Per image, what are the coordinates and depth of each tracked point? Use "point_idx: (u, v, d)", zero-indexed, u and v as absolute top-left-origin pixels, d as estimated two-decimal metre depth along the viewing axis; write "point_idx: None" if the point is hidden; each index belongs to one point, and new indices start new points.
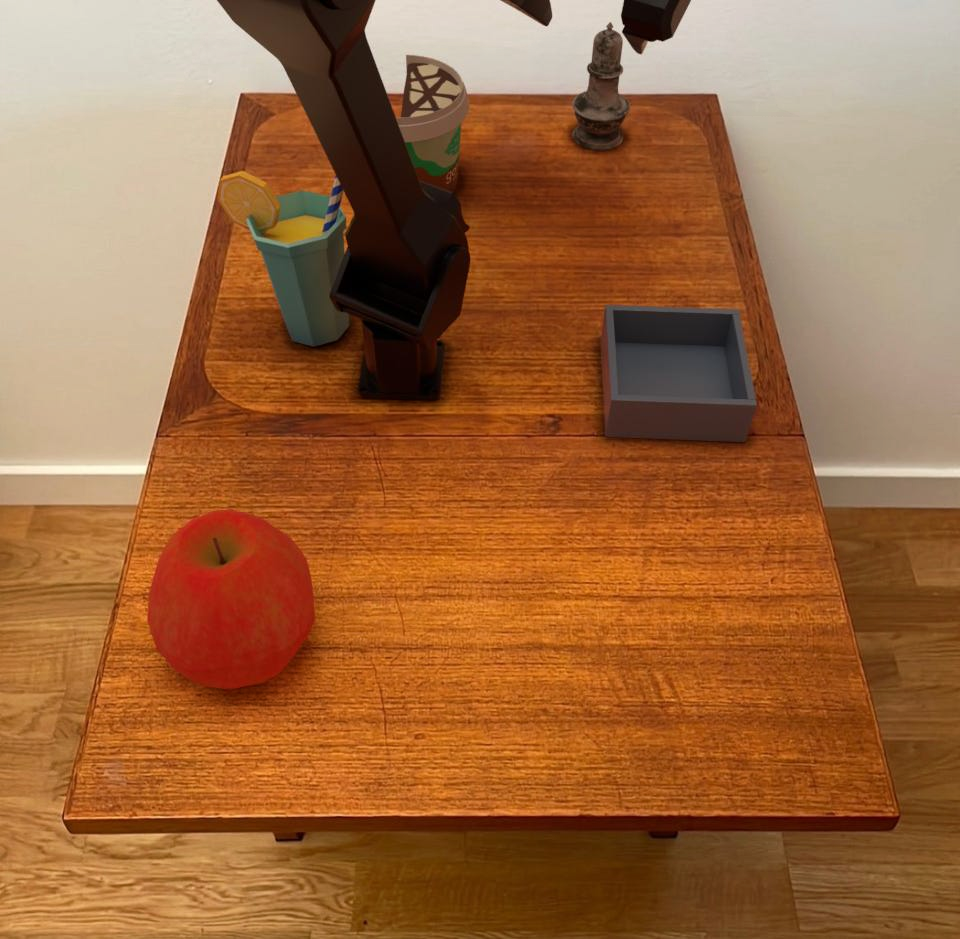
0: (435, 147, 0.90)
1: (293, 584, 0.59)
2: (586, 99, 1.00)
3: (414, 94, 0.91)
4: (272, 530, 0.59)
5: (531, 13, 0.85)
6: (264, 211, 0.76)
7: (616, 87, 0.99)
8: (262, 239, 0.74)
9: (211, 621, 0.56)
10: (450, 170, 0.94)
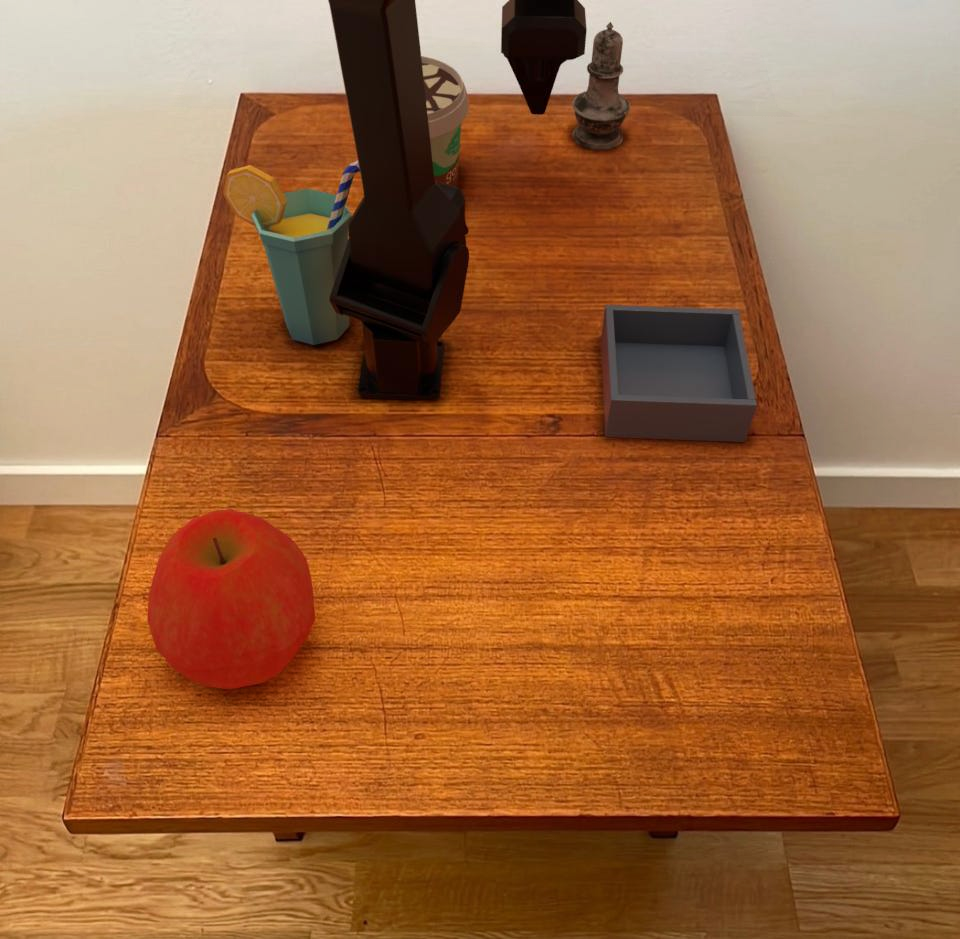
0: (435, 147, 0.90)
1: (293, 584, 0.59)
2: (586, 99, 1.00)
3: None
4: (272, 530, 0.59)
5: None
6: (269, 206, 0.76)
7: (616, 87, 0.99)
8: (267, 233, 0.74)
9: (211, 622, 0.56)
10: (450, 170, 0.94)
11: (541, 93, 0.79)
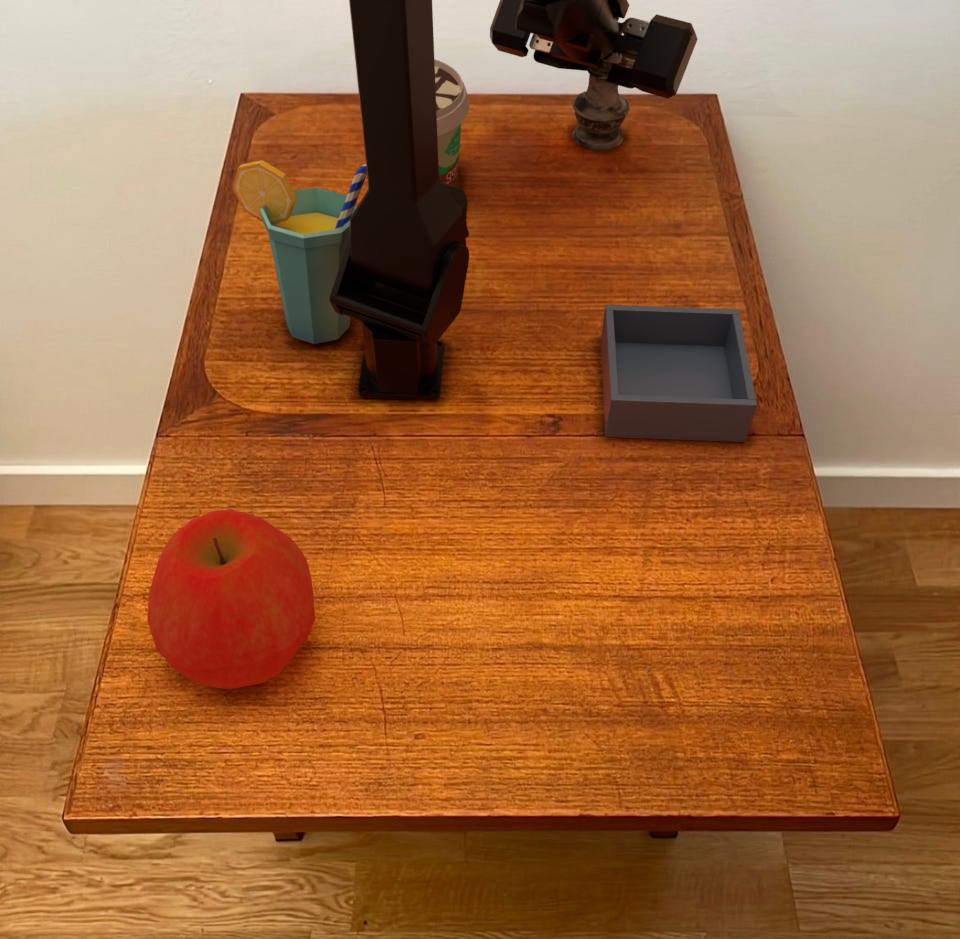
0: None
1: (293, 584, 0.59)
2: (586, 99, 1.00)
3: None
4: (272, 530, 0.59)
5: (578, 69, 0.97)
6: (279, 202, 0.76)
7: (616, 87, 0.99)
8: (277, 228, 0.74)
9: (211, 622, 0.56)
10: (450, 170, 0.94)
11: None
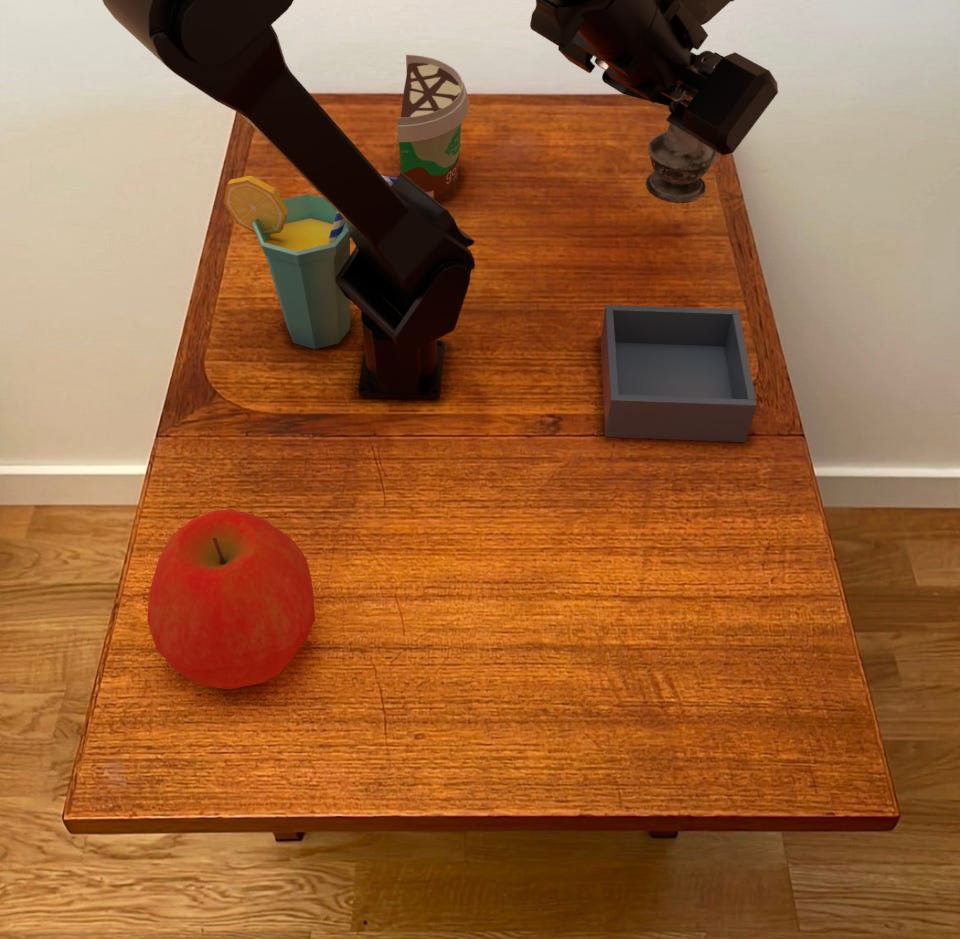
0: (435, 147, 0.90)
1: (293, 584, 0.59)
2: (664, 139, 0.84)
3: (414, 94, 0.91)
4: (272, 530, 0.59)
5: (656, 101, 0.82)
6: (271, 216, 0.75)
7: None
8: (270, 245, 0.74)
9: (211, 622, 0.56)
10: (450, 170, 0.94)
11: None
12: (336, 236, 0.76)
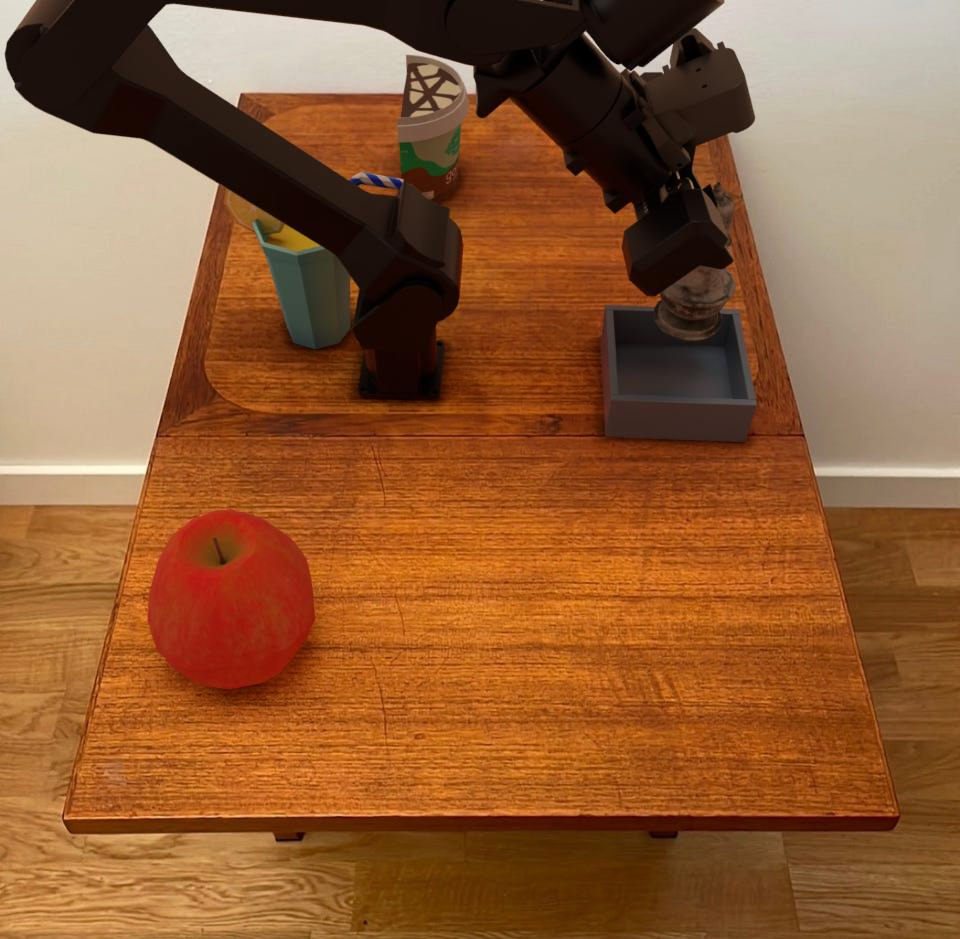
0: (435, 147, 0.90)
1: (293, 584, 0.59)
2: None
3: (414, 94, 0.91)
4: (272, 530, 0.59)
5: None
6: (271, 216, 0.75)
7: (704, 268, 0.71)
8: (270, 245, 0.74)
9: (211, 621, 0.56)
10: (450, 170, 0.94)
11: None
12: None
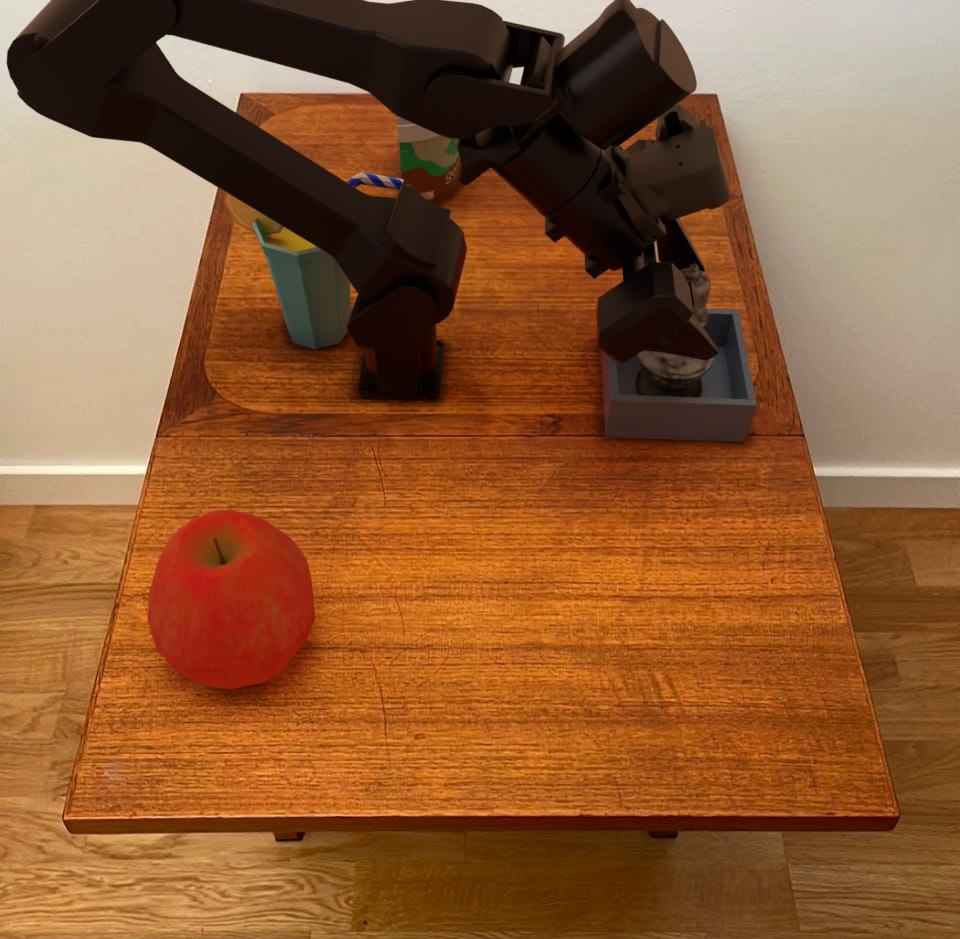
0: (435, 147, 0.90)
1: (293, 584, 0.59)
2: None
3: None
4: (272, 530, 0.59)
5: None
6: None
7: None
8: (270, 245, 0.74)
9: (211, 621, 0.56)
10: (450, 170, 0.94)
11: (697, 345, 0.68)
12: None
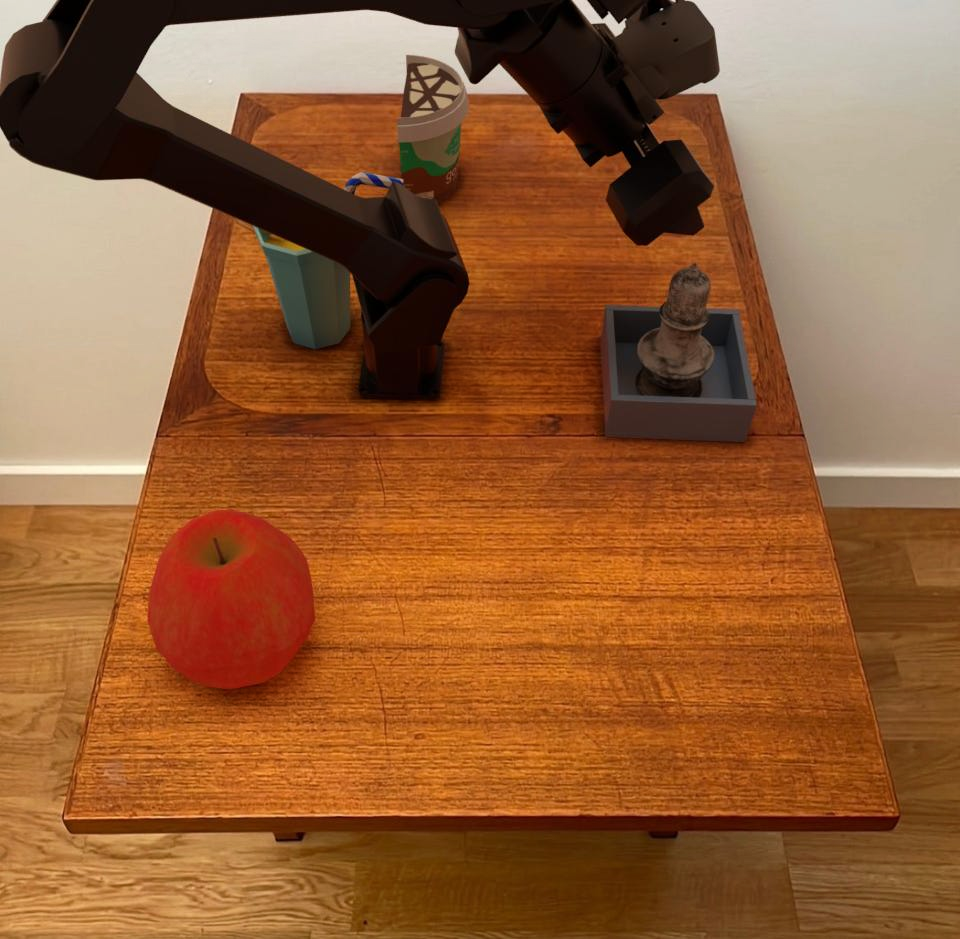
0: (435, 147, 0.90)
1: (293, 584, 0.59)
2: None
3: (414, 94, 0.91)
4: (272, 530, 0.59)
5: None
6: None
7: (681, 342, 0.74)
8: (270, 245, 0.74)
9: (211, 622, 0.56)
10: (450, 170, 0.94)
11: (691, 220, 0.71)
12: None
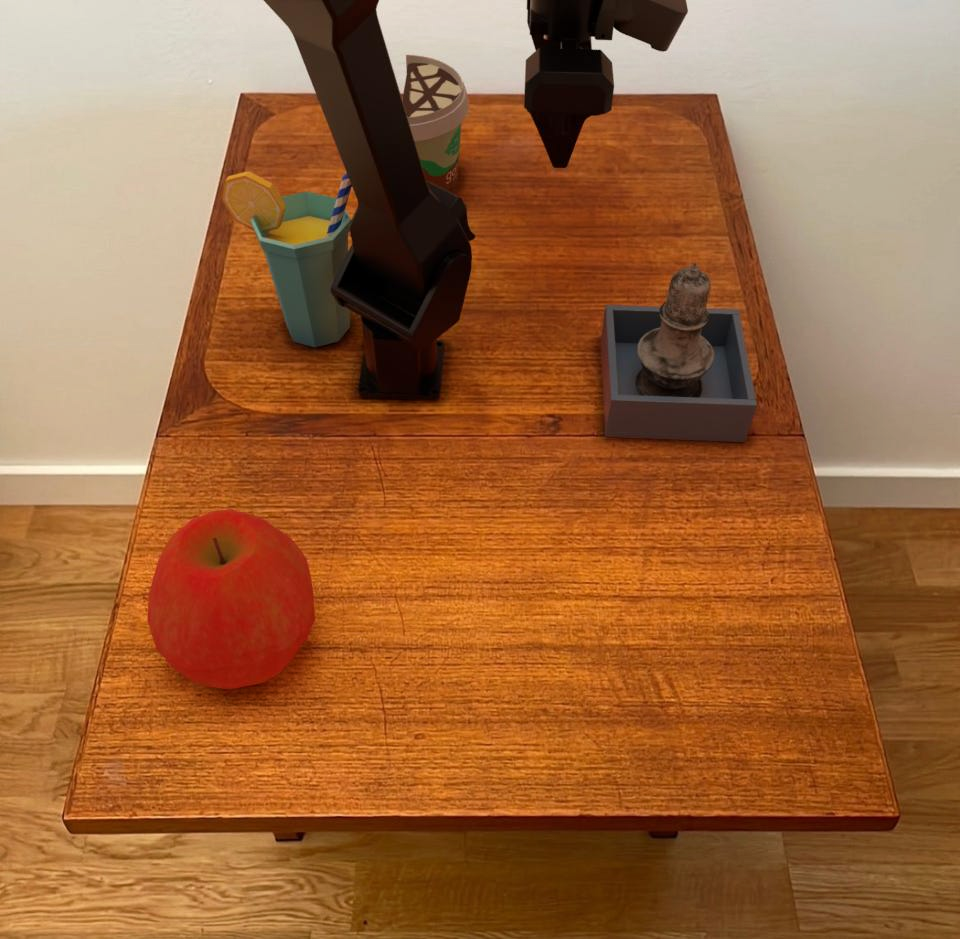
0: (435, 147, 0.90)
1: (293, 584, 0.59)
2: None
3: (414, 94, 0.91)
4: (272, 530, 0.59)
5: None
6: (269, 212, 0.76)
7: (681, 342, 0.74)
8: (268, 240, 0.74)
9: (211, 622, 0.56)
10: (450, 170, 0.94)
11: (564, 147, 0.76)
12: (334, 231, 0.76)
